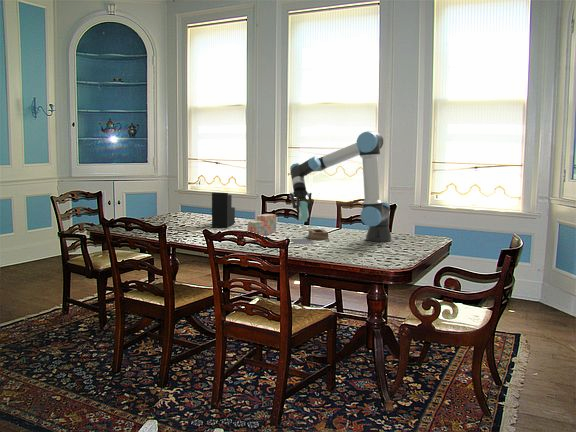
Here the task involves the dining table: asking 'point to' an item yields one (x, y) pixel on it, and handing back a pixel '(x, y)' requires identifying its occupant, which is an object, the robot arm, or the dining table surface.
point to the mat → (302, 241)
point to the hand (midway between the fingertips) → (304, 216)
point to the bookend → (222, 210)
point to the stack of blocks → (263, 224)
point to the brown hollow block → (318, 234)
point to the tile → (303, 211)
